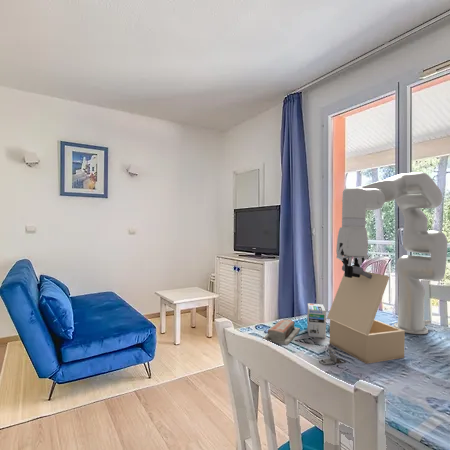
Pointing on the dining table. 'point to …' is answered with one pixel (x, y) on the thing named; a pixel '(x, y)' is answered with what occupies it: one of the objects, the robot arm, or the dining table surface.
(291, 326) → the packaged product
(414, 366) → the dining table surface
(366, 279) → the carton lid
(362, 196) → the robot arm
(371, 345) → the kraft carton
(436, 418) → the dining table surface
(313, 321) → the light bulb box
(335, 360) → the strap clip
